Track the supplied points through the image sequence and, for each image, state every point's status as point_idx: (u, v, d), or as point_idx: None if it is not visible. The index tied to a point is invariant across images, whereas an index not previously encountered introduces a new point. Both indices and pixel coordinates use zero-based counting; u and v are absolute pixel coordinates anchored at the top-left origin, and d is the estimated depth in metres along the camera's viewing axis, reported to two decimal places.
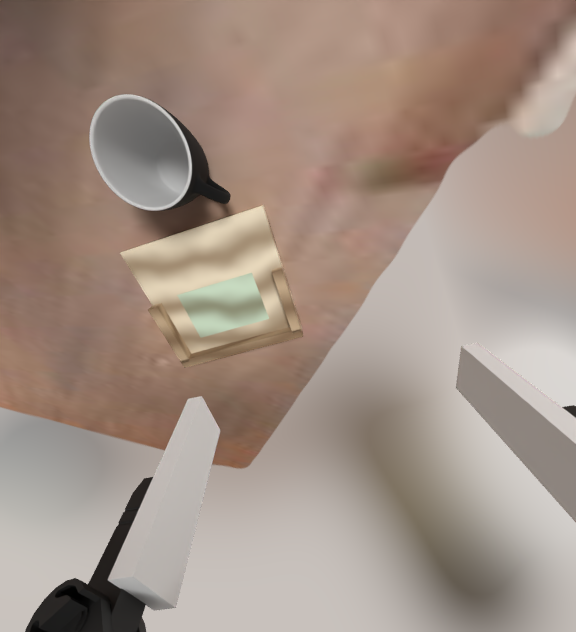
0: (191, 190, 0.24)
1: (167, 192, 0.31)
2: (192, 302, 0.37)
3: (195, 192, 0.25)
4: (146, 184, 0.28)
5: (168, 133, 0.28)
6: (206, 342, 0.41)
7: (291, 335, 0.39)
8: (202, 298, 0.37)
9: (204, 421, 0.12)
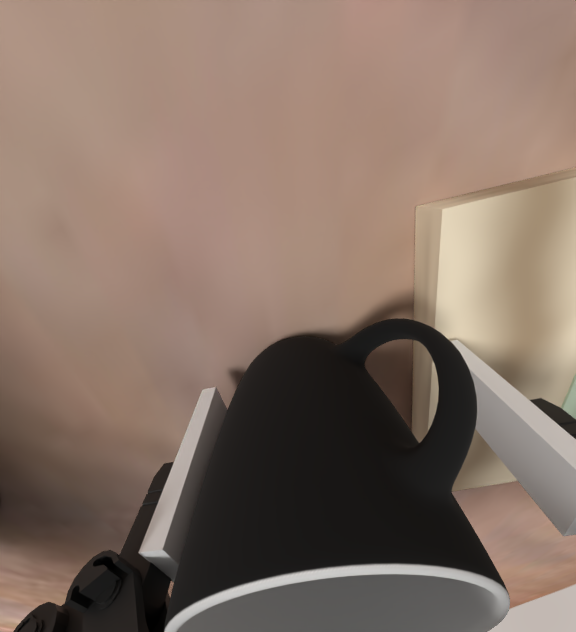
0: (455, 515, 0.06)
1: None
2: None
3: None
4: None
5: None
6: None
7: None
8: None
9: (218, 411, 0.12)
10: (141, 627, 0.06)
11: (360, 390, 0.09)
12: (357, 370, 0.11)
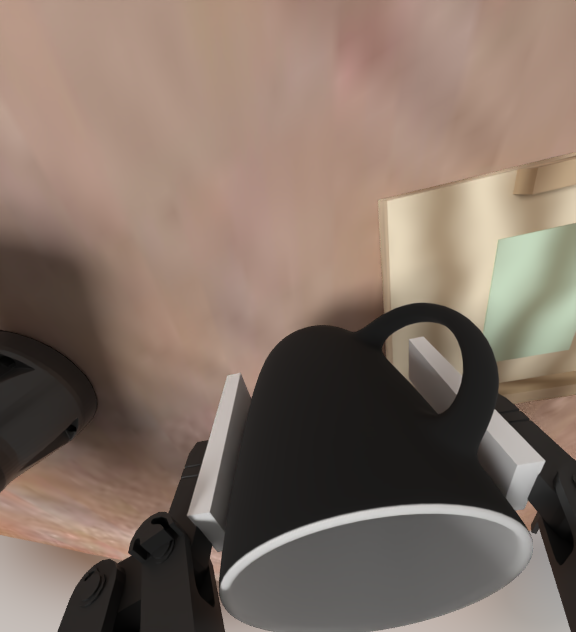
0: (481, 471, 0.07)
1: None
2: (499, 348, 0.22)
3: None
4: None
5: None
6: None
7: None
8: (502, 332, 0.22)
9: (243, 395, 0.13)
10: (192, 587, 0.06)
11: (383, 369, 0.10)
12: (377, 353, 0.11)
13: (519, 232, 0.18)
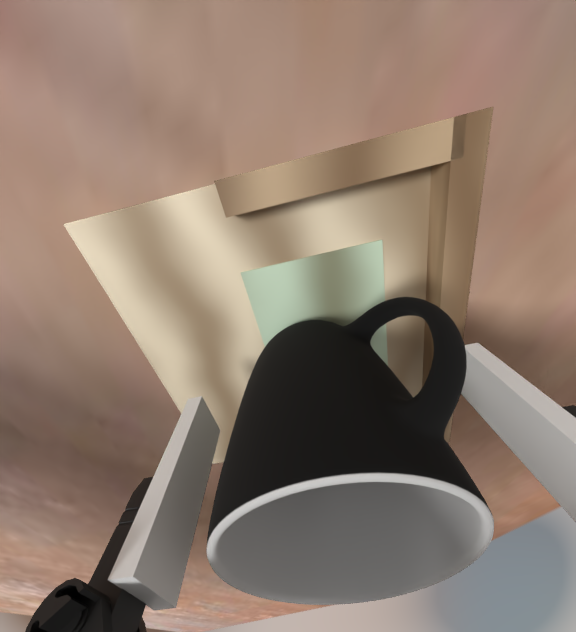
0: (446, 451, 0.07)
1: None
2: None
3: None
4: None
5: None
6: None
7: (468, 162, 0.10)
8: None
9: (204, 421, 0.12)
10: None
11: (366, 360, 0.10)
12: (364, 346, 0.12)
13: (263, 263, 0.14)
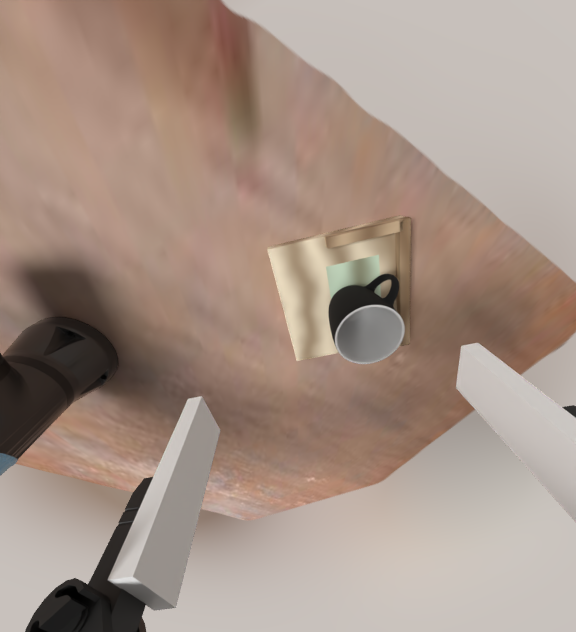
0: (393, 307, 0.30)
1: (367, 318, 0.39)
2: None
3: (393, 304, 0.30)
4: (365, 332, 0.38)
5: None
6: None
7: (405, 232, 0.33)
8: None
9: (204, 421, 0.12)
10: None
11: (373, 293, 0.33)
12: (372, 291, 0.35)
13: (334, 263, 0.37)
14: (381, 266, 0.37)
